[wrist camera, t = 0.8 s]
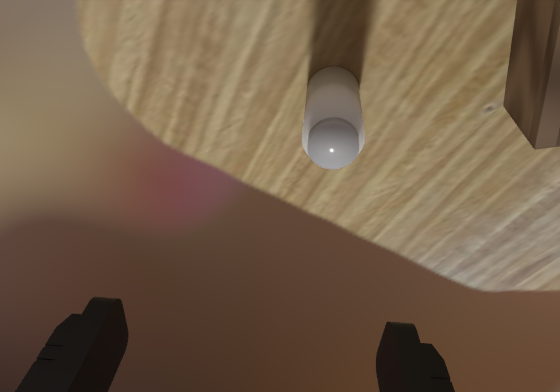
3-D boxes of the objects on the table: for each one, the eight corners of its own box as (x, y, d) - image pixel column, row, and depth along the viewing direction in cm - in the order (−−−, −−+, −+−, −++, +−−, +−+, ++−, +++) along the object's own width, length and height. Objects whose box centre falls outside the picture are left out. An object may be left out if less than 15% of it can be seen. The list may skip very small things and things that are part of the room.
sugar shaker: (302, 71, 30) (295, 125, 24) (355, 61, 29) (362, 114, 23) (311, 118, 32) (307, 177, 26) (361, 110, 31) (368, 169, 25)
